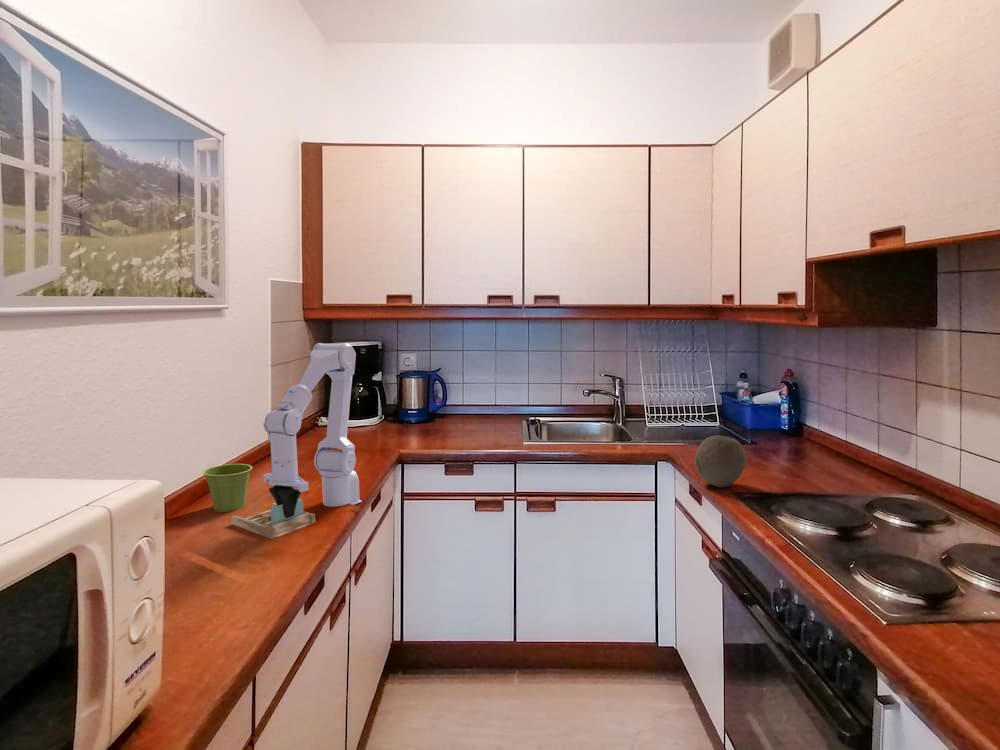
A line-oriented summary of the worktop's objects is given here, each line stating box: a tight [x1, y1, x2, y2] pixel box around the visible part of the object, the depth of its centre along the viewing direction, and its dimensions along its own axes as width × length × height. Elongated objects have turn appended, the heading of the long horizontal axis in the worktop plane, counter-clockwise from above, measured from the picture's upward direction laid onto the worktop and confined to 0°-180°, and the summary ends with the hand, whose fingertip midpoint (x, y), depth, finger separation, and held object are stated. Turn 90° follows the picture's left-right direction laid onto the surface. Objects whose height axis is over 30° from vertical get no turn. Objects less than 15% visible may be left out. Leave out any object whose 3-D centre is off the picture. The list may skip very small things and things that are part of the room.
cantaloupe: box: [694, 435, 747, 488], centre depth 170 cm, size 14×14×15 cm
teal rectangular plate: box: [270, 498, 304, 525], centre depth 136 cm, size 8×1×6 cm, turn 146°
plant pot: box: [202, 463, 253, 513], centre depth 151 cm, size 12×12×11 cm
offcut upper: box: [262, 512, 271, 522], centre depth 139 cm, size 6×2×1 cm, turn 150°
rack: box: [231, 502, 316, 539], centre depth 140 cm, size 12×16×3 cm
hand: (287, 515), depth 136 cm, fingers closed on teal rectangular plate
